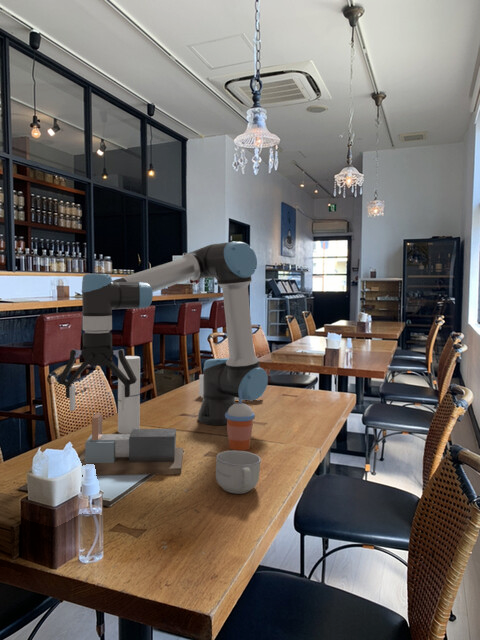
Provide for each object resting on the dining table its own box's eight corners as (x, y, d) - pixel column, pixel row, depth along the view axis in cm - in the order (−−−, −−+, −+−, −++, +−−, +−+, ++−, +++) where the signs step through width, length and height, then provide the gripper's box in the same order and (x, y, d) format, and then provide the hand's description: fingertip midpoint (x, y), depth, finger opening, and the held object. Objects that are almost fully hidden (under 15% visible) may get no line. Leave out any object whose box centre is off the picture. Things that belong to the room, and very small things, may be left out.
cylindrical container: (134, 434, 151) (134, 359, 150) (114, 432, 153) (114, 358, 151) (142, 428, 158) (143, 356, 157) (123, 426, 160) (124, 355, 158)
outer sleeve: (175, 453, 130) (175, 428, 130) (174, 462, 124) (174, 436, 123) (132, 453, 129) (132, 429, 129) (128, 462, 122) (129, 436, 122)
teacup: (214, 479, 116) (215, 448, 116) (257, 479, 117) (258, 448, 117) (216, 505, 102) (217, 470, 102) (264, 504, 103) (265, 469, 103)
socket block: (118, 453, 129) (118, 434, 129) (113, 462, 122) (113, 442, 122) (91, 453, 128) (91, 434, 128) (85, 463, 121) (85, 442, 121)
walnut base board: (183, 452, 135) (183, 447, 135) (181, 473, 119) (181, 468, 119) (85, 453, 133) (85, 448, 133) (70, 475, 117) (70, 469, 117)
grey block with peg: (142, 450, 129) (143, 412, 128) (140, 457, 124) (141, 417, 123) (95, 451, 127) (95, 412, 127) (91, 457, 122) (91, 417, 122)
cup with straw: (232, 454, 135) (233, 393, 134) (219, 445, 143) (220, 387, 142) (259, 450, 139) (260, 391, 138) (245, 441, 147) (246, 385, 146)
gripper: (146, 330, 128) (146, 405, 129) (53, 330, 126) (55, 406, 127) (142, 332, 121) (143, 412, 122) (44, 332, 118) (46, 413, 120)
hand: (98, 409), depth 125 cm, fingers open, 13 cm apart
